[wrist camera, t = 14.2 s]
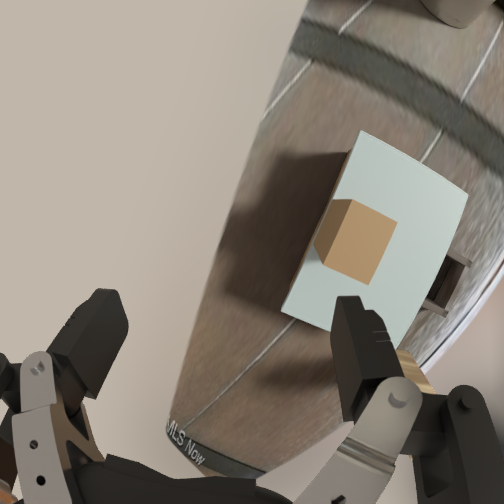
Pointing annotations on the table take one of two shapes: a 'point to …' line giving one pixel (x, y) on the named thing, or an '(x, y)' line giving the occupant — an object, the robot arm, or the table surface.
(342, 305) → the robot arm
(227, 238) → the table surface
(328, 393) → the table surface
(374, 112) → the table surface
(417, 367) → the wooden block
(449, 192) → the lid
